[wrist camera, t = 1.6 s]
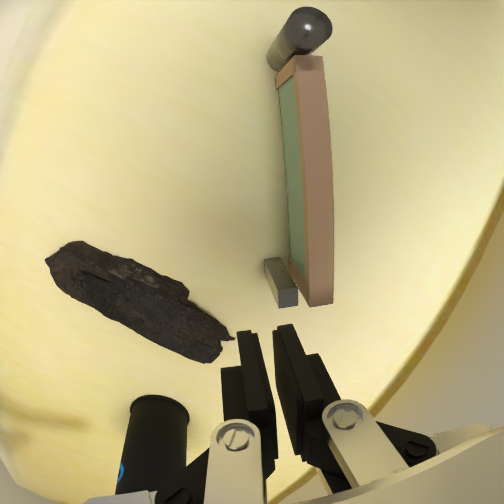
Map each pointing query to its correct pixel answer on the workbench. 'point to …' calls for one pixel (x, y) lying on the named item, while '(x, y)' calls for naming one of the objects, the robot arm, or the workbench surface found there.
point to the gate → (308, 176)
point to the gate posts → (280, 53)
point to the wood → (138, 300)
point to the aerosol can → (153, 444)
